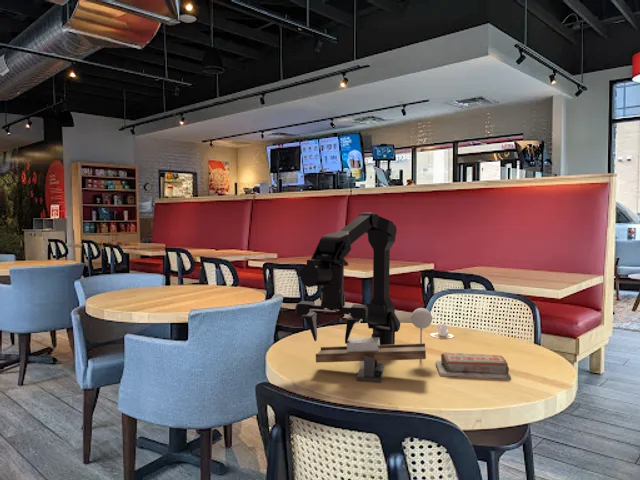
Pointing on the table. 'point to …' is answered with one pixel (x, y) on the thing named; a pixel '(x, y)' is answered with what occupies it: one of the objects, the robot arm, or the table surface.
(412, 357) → the beam
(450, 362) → the packaged product
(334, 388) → the table surface
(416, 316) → the lollipop
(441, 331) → the teacup and saucer
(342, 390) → the table surface
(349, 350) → the block
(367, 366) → the stand
